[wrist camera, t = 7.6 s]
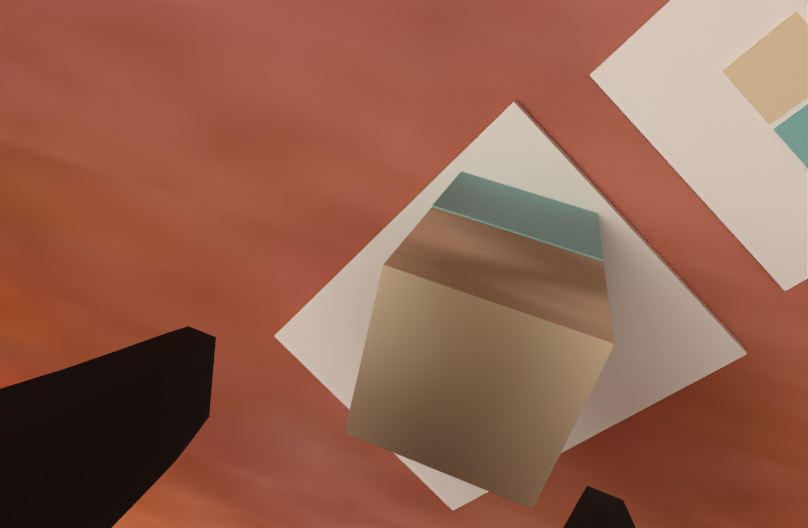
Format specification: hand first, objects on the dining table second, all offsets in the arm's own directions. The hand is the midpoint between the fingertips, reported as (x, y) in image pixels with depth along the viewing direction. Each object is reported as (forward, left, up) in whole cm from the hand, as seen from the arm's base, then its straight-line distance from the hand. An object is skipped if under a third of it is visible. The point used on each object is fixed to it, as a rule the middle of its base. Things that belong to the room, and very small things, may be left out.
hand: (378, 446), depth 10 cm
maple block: (-1, -1, -6) cm, 6 cm away
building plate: (-3, +2, -10) cm, 11 cm away
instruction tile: (-3, -10, -10) cm, 15 cm away
